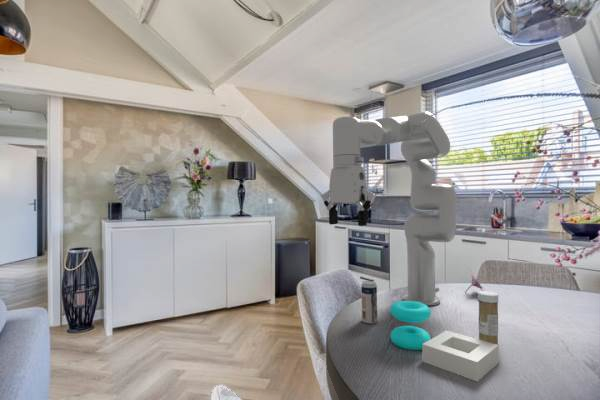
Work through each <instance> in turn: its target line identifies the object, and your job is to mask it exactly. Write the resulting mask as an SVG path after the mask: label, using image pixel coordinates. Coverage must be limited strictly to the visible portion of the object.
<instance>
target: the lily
mask: <svg viewBox="0 0 600 400" xmlns="http://www.w3.org/2000/svg"><path fill="white" fill-rule="evenodd" d="M468 269H469V270H470V272H469V275H470V276H471V284H470V285H469V286H468V288H467V289H466V290H465V292H464V294H466V293H467V291H469V289H470V288H471V287H476V288H477V289H478V288H479V289H480V291H487V290H486V289H485V287H484V286H483V285H482V284H481V282H480V280H477V278H476V277H475V274H474V273H473V271H472V270H471V269H470V268H469V266H468Z"/></svg>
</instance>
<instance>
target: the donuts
mask: <svg viewBox="0 0 600 400" xmlns="http://www.w3.org/2000/svg"><path fill="white" fill-rule="evenodd" d="M389 311H390V314H391V315H392V316H393V318H395V319H397V320H398V321H401V322H405V323H423V322H425V321H427V320H428V319H429V318H430V316H431V314H432V312H431V309H430V307H429V306H427V305H425V304H423V303H420V302H415V301H404V300H398V301H395V302H393V303H392V304H391V305H390V307H389ZM430 339H432V338H431V336H430V334H429V332H427V331H426V330H425V329H423V328H421V327H417V326H414V325H399V326H397V327H395V328H394V329H392V330H391V332H390V340H391V342H392V343H393V344H394V345H395V346H397V347H399V348H402V349H405V350H410V351H419V350H421V351H422V344H423V343H425V342H427V341H429V340H430Z"/></svg>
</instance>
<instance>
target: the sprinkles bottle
mask: <svg viewBox="0 0 600 400" xmlns="http://www.w3.org/2000/svg"><path fill="white" fill-rule="evenodd" d="M477 301H478V339H479V340H482V341H486V342H489V343H493V344H496V345H499V311H498V309H499V294H498V293H497V292H494V291H491V290H486V291H485V290H483V291H482V290H480V291H478V292H477Z"/></svg>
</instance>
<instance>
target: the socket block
mask: <svg viewBox="0 0 600 400" xmlns="http://www.w3.org/2000/svg"><path fill="white" fill-rule="evenodd" d="M421 351H422V355H421V358H422V362H423V363H425V364H428V365H430V366H434V367H436V368H439V369H442V370H444V371H447V372H450V373H452V374H456V375H457V376H460V375H461V376H460V377H463V376H464V378H466V379H469V380H472V381H474V382H479V381H480V380H482V378H484V377H485V376H487V374H488V373H490V371H492V369H493V368H495V367H496V366H497V365H498V364H500V358H499V357H500V356H499V352H500V351H499V344H498V345H496V344H493V343H489V342H486V341H482V340H479V338H475V337H471V336H467V335H465V334H464V335H463V334H460V333H457V332H453V331H450V330H445V331H443V332H441V333H440V334H438V335H436V336H434V337H432V338H431V339H430V340H429V341H427V342H425V343H423V344H422V349H421ZM495 365H496V366H495ZM484 375H485V376H484Z"/></svg>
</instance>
